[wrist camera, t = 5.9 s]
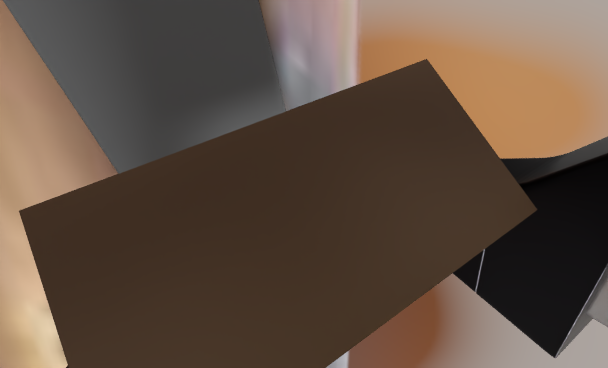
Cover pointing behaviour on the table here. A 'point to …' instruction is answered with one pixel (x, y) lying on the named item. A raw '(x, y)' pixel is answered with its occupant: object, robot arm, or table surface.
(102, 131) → the mat
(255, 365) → the board
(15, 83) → the table surface
